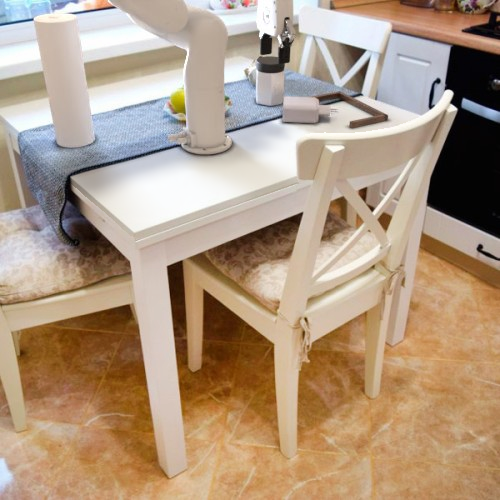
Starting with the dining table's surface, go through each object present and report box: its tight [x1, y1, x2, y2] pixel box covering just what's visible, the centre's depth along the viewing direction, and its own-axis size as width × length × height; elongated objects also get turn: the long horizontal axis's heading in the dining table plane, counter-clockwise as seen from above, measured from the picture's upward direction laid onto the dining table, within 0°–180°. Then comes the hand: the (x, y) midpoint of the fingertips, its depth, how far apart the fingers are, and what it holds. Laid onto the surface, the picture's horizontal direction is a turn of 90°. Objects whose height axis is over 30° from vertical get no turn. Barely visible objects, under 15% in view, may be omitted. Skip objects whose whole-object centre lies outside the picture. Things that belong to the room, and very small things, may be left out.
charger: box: [282, 96, 339, 124], centre depth 162 cm, size 5×9×15 cm
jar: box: [255, 55, 286, 107], centre depth 171 cm, size 9×8×12 cm
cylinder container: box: [33, 12, 96, 149], centre depth 141 cm, size 9×9×30 cm
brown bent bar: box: [311, 90, 389, 129], centre depth 167 cm, size 12×22×2 cm, turn 29°
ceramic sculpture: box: [243, 55, 263, 88], centre depth 186 cm, size 11×9×15 cm
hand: (274, 58), depth 148 cm, fingers open, 8 cm apart
